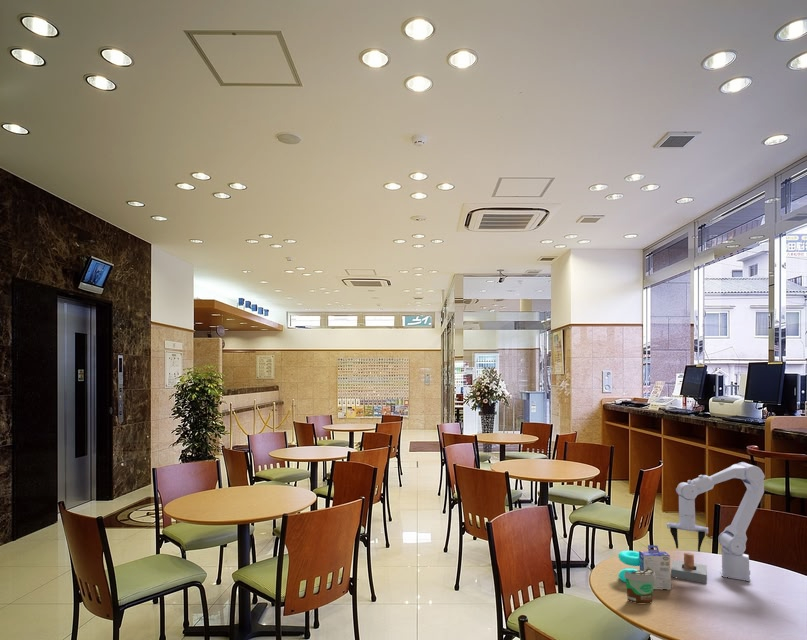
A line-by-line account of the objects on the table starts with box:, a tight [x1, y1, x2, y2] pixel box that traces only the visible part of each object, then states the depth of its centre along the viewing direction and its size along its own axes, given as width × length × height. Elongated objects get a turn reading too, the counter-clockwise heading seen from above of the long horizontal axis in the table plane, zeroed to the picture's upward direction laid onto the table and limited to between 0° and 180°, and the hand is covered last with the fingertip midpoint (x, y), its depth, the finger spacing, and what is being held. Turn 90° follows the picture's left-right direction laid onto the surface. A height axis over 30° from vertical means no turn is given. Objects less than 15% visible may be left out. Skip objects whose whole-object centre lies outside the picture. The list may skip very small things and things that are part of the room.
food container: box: [624, 567, 656, 604], centre depth 196 cm, size 12×6×10 cm, turn 117°
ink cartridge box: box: [638, 544, 672, 591], centre depth 209 cm, size 10×6×14 cm, turn 87°
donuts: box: [618, 550, 641, 583], centre depth 215 cm, size 10×10×10 cm
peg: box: [683, 552, 695, 570], centre depth 222 cm, size 4×4×8 cm
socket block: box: [670, 559, 708, 584], centre depth 221 cm, size 12×12×3 cm
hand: (688, 549), depth 223 cm, fingers open, 7 cm apart
